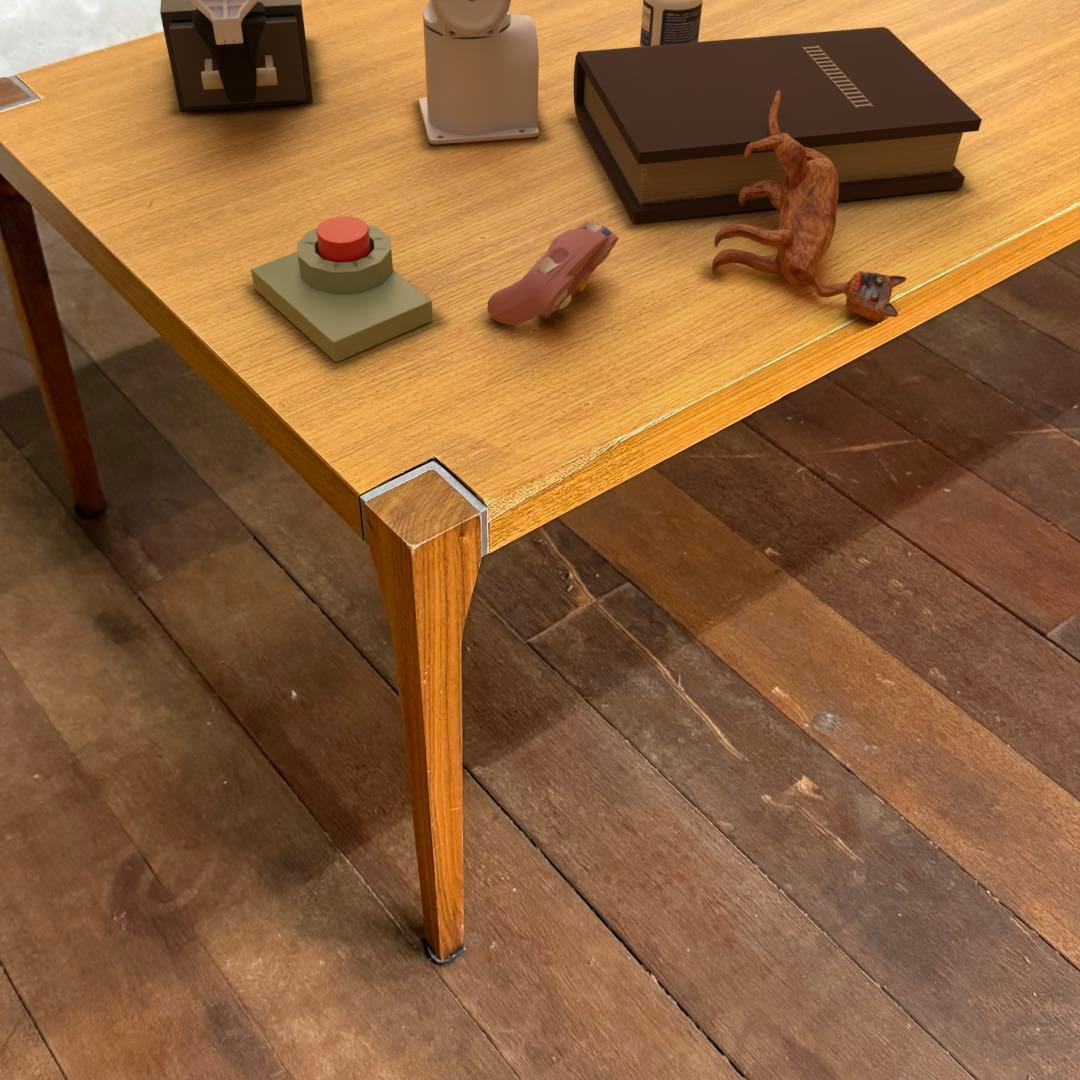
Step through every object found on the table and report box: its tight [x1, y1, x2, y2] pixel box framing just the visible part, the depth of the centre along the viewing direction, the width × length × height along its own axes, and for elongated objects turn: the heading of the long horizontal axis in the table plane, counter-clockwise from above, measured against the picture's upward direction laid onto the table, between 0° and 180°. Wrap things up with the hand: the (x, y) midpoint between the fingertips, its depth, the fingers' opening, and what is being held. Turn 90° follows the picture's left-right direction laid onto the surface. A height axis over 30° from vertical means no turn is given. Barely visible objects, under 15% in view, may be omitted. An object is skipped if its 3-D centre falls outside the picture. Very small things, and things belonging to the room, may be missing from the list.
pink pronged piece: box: [487, 218, 620, 325], centre depth 85 cm, size 10×5×7 cm, turn 148°
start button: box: [316, 215, 370, 263], centre depth 85 cm, size 4×4×2 cm
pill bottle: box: [639, 0, 704, 47], centre depth 111 cm, size 5×5×10 cm
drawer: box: [169, 15, 306, 107], centre depth 106 cm, size 16×10×7 cm, turn 11°
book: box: [573, 26, 983, 224], centre depth 101 cm, size 28×20×6 cm
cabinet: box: [159, 0, 314, 112], centre depth 108 cm, size 13×12×9 cm
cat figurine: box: [711, 91, 907, 322], centre depth 89 cm, size 18×7×14 cm
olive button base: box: [250, 223, 433, 363], centre depth 85 cm, size 11×9×4 cm
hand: (242, 97), depth 101 cm, fingers closed, pressing on drawer
